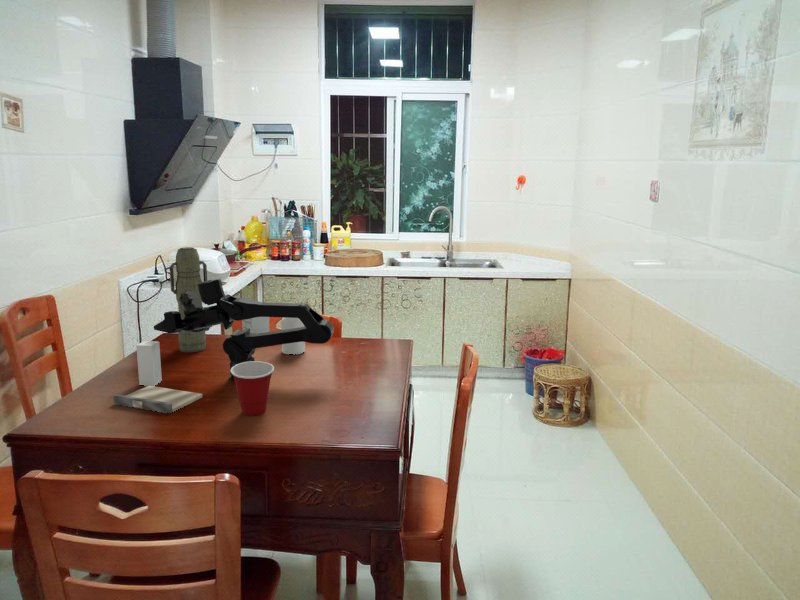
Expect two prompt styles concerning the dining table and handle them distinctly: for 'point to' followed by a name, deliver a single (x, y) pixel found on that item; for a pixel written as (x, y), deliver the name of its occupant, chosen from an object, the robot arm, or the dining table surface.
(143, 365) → the grey carton
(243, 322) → the supplement box
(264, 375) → the plastic cup
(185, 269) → the thermos
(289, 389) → the dining table surface
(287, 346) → the pill bottle
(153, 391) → the shelf board
